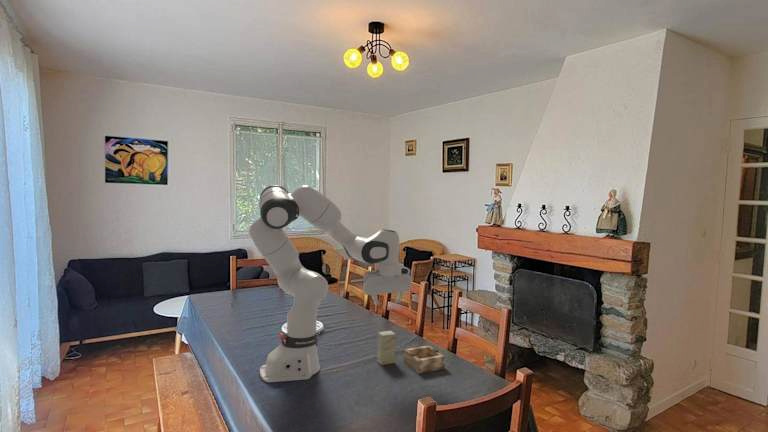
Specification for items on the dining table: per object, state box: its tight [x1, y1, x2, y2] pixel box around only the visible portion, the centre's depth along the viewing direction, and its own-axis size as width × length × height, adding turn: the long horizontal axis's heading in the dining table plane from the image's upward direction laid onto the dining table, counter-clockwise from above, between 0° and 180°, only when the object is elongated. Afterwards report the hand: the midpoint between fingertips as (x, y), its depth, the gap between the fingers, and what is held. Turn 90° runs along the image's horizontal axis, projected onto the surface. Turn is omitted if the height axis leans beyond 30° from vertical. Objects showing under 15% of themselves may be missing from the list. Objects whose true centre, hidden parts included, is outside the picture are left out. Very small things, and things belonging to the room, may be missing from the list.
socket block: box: [403, 345, 446, 375], centre depth 164 cm, size 12×12×6 cm
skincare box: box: [376, 329, 396, 366], centre depth 166 cm, size 6×4×12 cm
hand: (387, 303), depth 165 cm, fingers open, 8 cm apart
